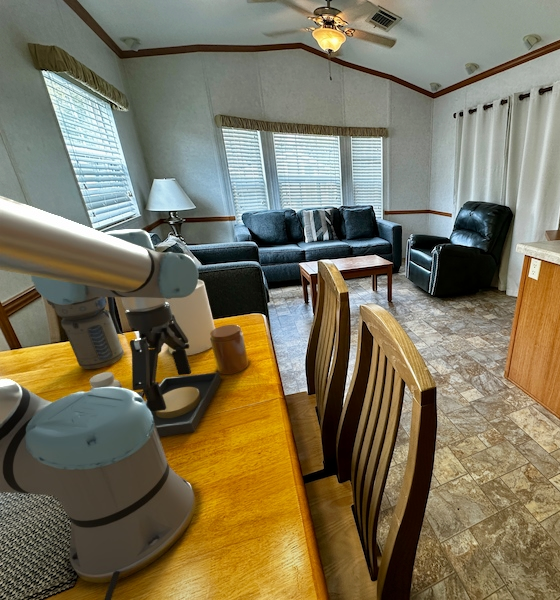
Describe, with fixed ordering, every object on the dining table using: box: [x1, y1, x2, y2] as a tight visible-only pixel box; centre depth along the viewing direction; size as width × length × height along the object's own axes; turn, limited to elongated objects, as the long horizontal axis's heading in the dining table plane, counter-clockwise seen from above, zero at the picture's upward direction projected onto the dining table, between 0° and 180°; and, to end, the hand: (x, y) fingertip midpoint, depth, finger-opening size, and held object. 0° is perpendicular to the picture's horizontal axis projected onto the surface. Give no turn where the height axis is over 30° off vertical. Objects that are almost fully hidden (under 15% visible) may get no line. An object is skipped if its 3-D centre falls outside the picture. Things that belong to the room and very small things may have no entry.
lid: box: [155, 387, 201, 418], centre depth 77 cm, size 9×9×2 cm
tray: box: [144, 371, 222, 438], centre depth 77 cm, size 19×13×2 cm
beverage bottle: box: [45, 297, 125, 370], centre depth 92 cm, size 10×13×25 cm
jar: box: [210, 324, 250, 375], centre depth 92 cm, size 8×8×12 cm
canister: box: [167, 279, 216, 356], centre depth 102 cm, size 14×14×20 cm
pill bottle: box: [89, 371, 123, 391], centre depth 74 cm, size 5×5×10 cm
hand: (172, 390), depth 76 cm, fingers open, 13 cm apart
